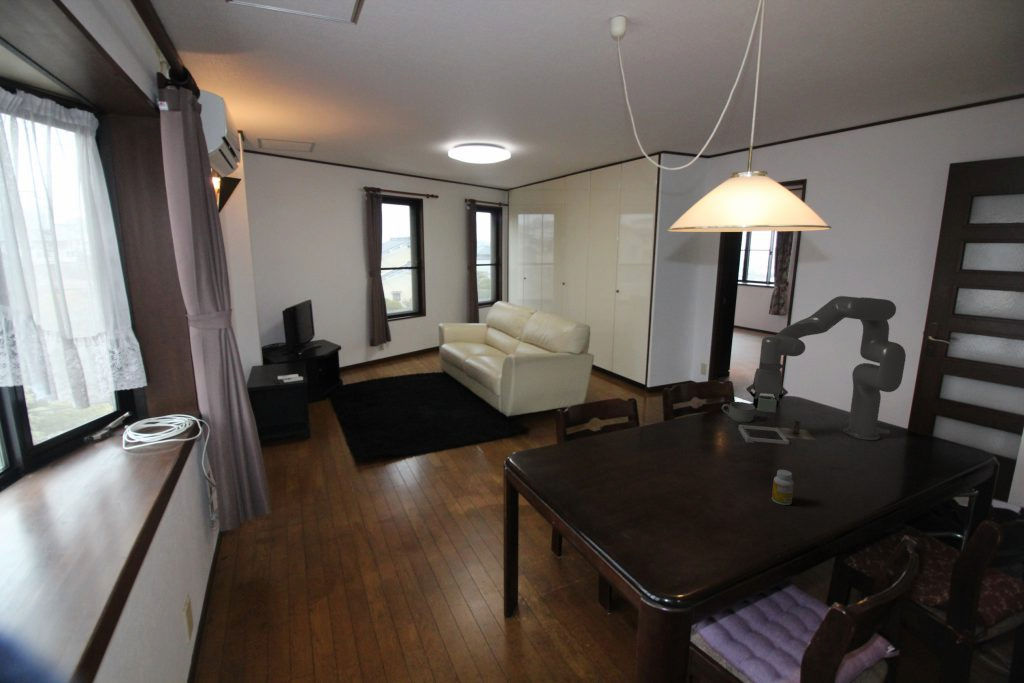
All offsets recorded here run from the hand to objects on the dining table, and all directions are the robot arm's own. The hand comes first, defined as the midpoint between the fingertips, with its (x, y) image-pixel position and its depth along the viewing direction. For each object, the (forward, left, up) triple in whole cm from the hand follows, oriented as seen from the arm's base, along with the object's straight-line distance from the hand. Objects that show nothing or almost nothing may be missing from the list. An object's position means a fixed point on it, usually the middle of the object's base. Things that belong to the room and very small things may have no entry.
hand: (765, 407), depth 191 cm
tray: (0, 0, -13) cm, 13 cm away
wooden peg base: (-15, -6, -13) cm, 21 cm away
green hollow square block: (0, 0, -1) cm, 1 cm away
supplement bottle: (+8, +56, -14) cm, 58 cm away
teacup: (+6, -20, -14) cm, 25 cm away
